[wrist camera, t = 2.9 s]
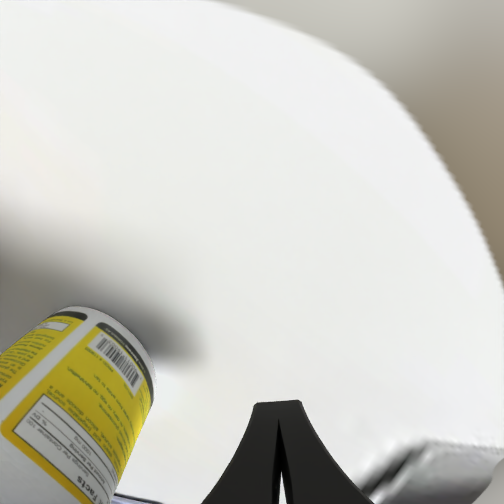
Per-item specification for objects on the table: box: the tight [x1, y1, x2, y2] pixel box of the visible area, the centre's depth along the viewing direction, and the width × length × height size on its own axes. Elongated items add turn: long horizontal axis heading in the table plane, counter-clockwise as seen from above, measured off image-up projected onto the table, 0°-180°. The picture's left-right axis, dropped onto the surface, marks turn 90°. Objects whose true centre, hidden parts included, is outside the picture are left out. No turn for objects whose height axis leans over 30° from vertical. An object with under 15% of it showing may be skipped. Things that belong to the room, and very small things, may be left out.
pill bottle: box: [0, 306, 156, 504], centre depth 7 cm, size 6×6×11 cm
